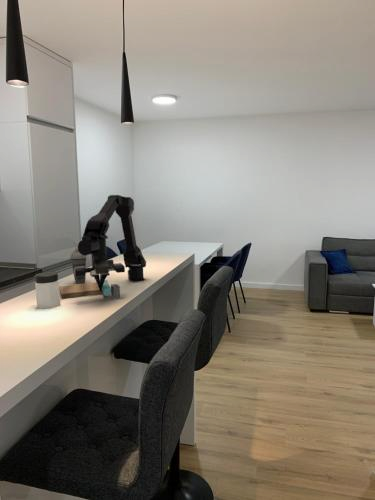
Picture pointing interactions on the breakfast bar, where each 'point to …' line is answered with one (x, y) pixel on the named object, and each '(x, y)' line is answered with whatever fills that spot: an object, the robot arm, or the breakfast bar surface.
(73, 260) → the beverage cup
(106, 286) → the leg
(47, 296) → the jar
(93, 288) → the board
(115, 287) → the post
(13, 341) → the breakfast bar surface
